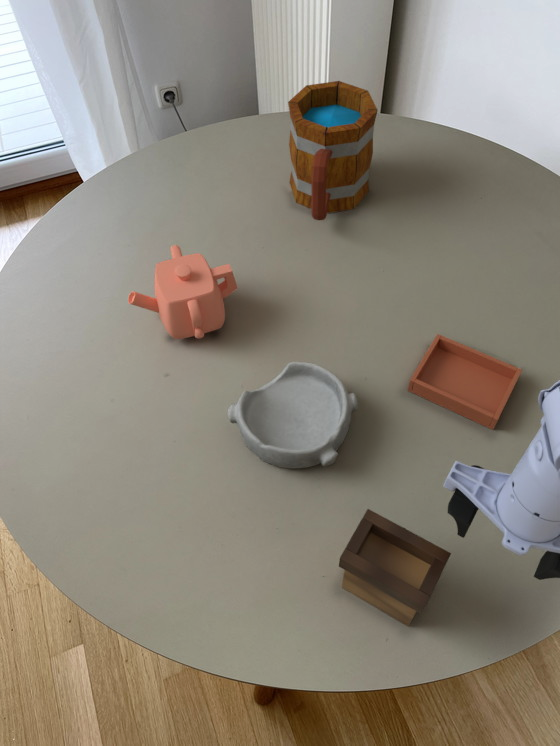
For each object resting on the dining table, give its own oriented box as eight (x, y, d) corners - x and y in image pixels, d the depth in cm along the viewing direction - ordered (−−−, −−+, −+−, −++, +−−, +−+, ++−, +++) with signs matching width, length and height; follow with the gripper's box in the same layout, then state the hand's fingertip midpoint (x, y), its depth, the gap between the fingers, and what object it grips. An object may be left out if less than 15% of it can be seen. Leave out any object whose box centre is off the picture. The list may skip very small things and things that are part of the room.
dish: (218, 438, 82) (214, 417, 78) (281, 364, 88) (280, 341, 84) (314, 498, 77) (315, 479, 73) (373, 415, 83) (377, 394, 79)
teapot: (134, 331, 93) (118, 284, 85) (182, 277, 98) (171, 228, 90) (201, 363, 89) (191, 317, 81) (247, 305, 95) (242, 257, 87)
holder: (517, 380, 86) (522, 369, 84) (493, 430, 82) (498, 420, 80) (434, 344, 90) (437, 333, 88) (407, 390, 85) (409, 379, 83)
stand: (427, 586, 71) (439, 563, 65) (408, 627, 68) (418, 607, 62) (362, 549, 73) (368, 523, 67) (341, 587, 71) (345, 564, 65)
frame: (446, 561, 65) (451, 552, 63) (421, 614, 62) (425, 607, 60) (365, 517, 68) (367, 508, 66) (338, 566, 65) (339, 558, 63)
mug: (296, 158, 114) (296, 77, 102) (373, 165, 112) (382, 84, 100) (274, 235, 103) (270, 154, 91) (359, 244, 101) (367, 164, 89)
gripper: (442, 481, 51) (414, 543, 63) (627, 579, 47) (562, 627, 58) (477, 417, 55) (444, 486, 66) (653, 502, 50) (586, 561, 61)
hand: (501, 548), depth 62 cm, fingers open, 7 cm apart
